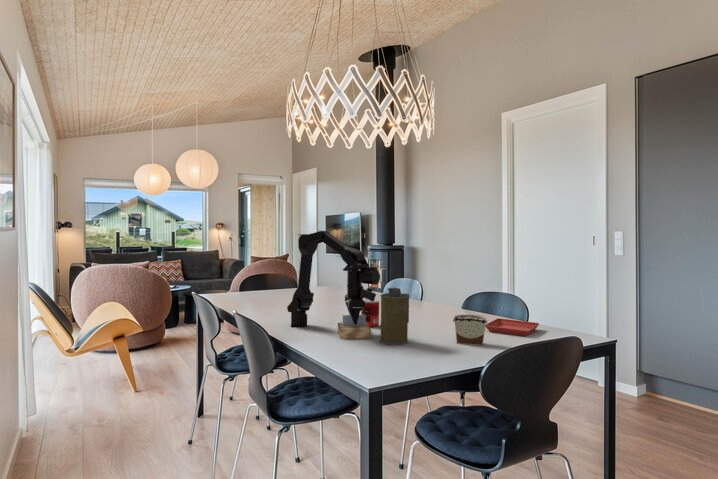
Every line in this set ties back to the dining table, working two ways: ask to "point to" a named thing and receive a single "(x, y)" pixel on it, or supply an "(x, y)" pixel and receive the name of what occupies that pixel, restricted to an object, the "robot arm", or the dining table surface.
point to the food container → (470, 329)
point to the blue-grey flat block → (349, 322)
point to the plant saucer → (511, 327)
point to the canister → (394, 317)
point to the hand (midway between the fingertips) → (354, 322)
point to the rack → (354, 331)
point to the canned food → (371, 312)
